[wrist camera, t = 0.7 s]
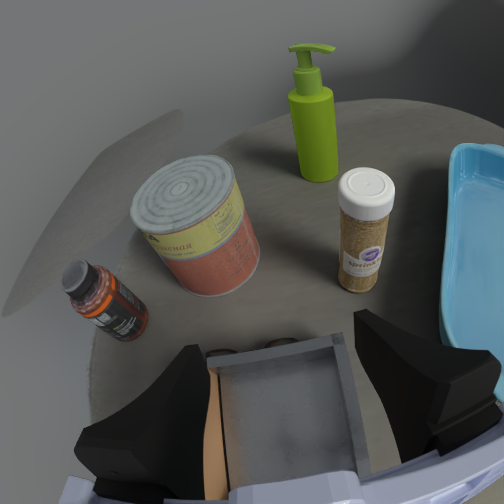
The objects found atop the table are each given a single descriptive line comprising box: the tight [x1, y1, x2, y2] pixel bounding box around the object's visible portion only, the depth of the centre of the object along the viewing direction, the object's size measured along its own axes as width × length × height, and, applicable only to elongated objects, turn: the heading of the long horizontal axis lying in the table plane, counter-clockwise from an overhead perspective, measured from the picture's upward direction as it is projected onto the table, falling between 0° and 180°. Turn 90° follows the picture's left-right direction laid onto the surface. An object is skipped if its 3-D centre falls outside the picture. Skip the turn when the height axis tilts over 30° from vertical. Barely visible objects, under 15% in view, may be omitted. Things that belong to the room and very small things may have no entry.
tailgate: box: [203, 369, 229, 500], centre depth 21 cm, size 14×1×6 cm, turn 6°
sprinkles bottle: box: [338, 168, 395, 293], centre depth 26 cm, size 5×5×14 cm
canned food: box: [130, 154, 260, 297], centre depth 33 cm, size 11×11×12 cm
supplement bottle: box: [61, 259, 148, 342], centre depth 30 cm, size 6×6×11 cm
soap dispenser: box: [288, 43, 338, 182], centre depth 35 cm, size 6×7×20 cm
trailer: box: [205, 332, 371, 491], centre depth 21 cm, size 17×13×4 cm
